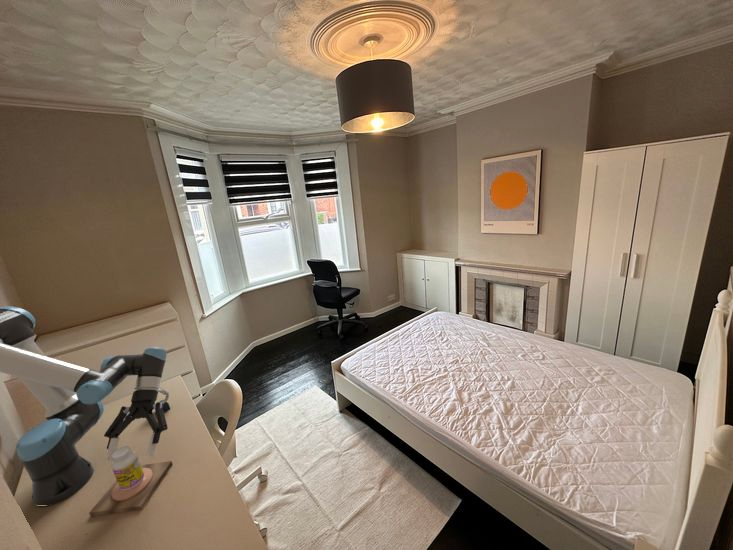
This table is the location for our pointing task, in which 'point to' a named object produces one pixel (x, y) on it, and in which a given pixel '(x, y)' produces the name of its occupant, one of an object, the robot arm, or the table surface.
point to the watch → (166, 404)
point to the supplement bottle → (127, 468)
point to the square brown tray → (138, 501)
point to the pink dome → (124, 495)
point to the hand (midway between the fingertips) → (129, 458)
